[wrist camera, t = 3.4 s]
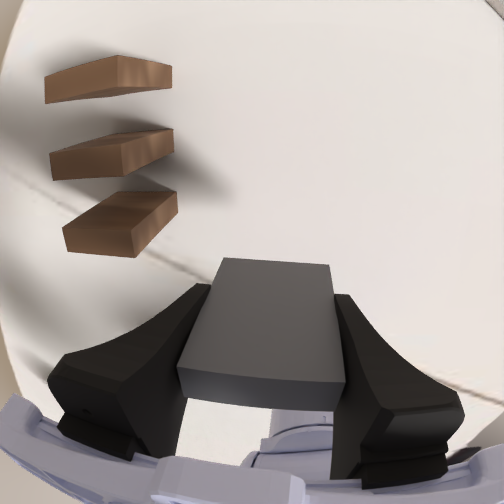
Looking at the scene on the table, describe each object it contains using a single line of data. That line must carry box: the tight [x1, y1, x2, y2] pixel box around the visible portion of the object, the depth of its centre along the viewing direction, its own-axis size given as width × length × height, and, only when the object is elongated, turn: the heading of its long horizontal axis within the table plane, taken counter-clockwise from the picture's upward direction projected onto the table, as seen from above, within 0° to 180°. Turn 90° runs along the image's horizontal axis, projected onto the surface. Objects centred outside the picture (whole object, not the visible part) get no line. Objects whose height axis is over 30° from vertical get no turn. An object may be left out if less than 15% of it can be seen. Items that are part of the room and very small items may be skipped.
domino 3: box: [62, 192, 178, 258], centre depth 19 cm, size 2×5×7 cm, turn 90°
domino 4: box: [177, 258, 346, 412], centre depth 12 cm, size 2×5×7 cm, turn 90°
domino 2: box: [49, 129, 174, 181], centre depth 17 cm, size 2×5×7 cm, turn 90°
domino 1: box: [45, 55, 172, 104], centre depth 15 cm, size 2×5×7 cm, turn 90°
